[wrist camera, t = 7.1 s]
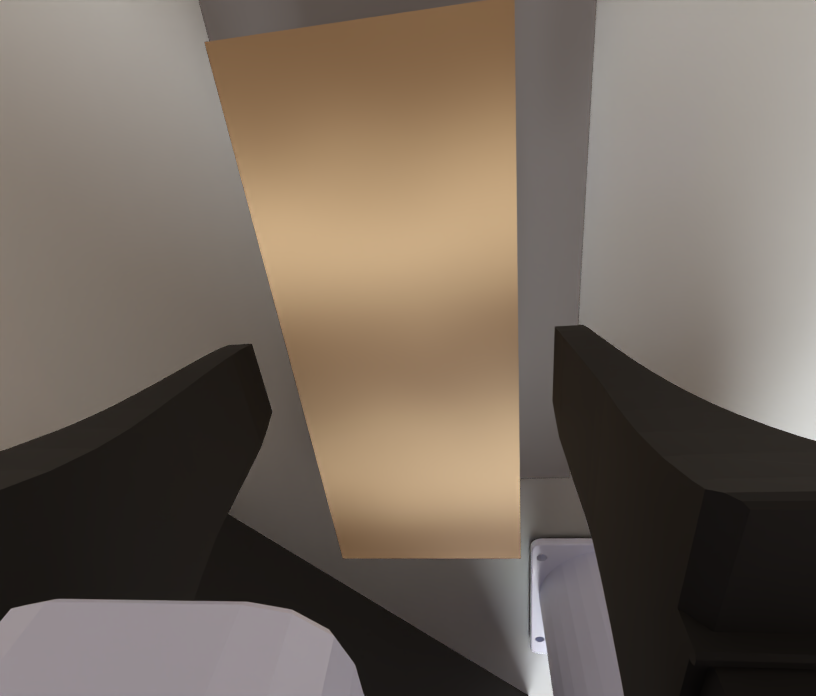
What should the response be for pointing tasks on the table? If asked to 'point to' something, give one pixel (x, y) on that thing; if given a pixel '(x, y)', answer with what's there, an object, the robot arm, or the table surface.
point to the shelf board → (393, 263)
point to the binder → (341, 619)
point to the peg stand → (535, 170)
